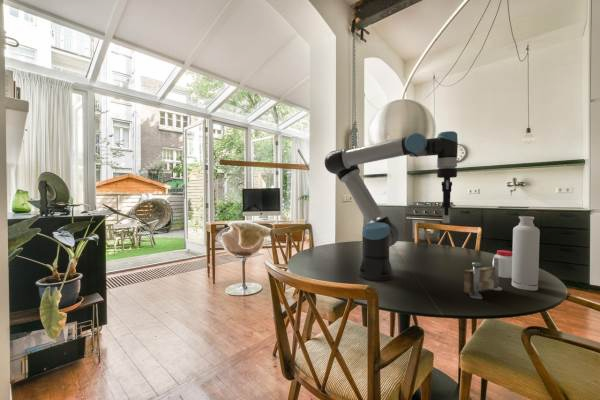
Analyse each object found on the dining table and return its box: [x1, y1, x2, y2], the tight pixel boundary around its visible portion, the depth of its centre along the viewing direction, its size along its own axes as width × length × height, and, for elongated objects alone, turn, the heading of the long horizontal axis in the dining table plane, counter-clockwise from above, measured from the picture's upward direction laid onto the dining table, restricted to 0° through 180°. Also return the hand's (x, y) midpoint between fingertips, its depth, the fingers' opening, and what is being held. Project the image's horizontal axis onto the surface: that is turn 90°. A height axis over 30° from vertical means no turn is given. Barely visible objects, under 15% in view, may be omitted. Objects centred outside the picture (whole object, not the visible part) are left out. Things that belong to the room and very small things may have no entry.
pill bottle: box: [493, 249, 512, 279], centre depth 122 cm, size 8×8×11 cm
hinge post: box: [489, 257, 503, 292], centre depth 105 cm, size 4×4×12 cm
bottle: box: [511, 215, 541, 292], centre depth 107 cm, size 8×8×28 cm
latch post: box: [468, 261, 483, 300], centre depth 98 cm, size 4×4×12 cm
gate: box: [463, 266, 495, 294], centre depth 102 cm, size 15×2×8 cm, turn 113°
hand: (446, 222), depth 117 cm, fingers closed
